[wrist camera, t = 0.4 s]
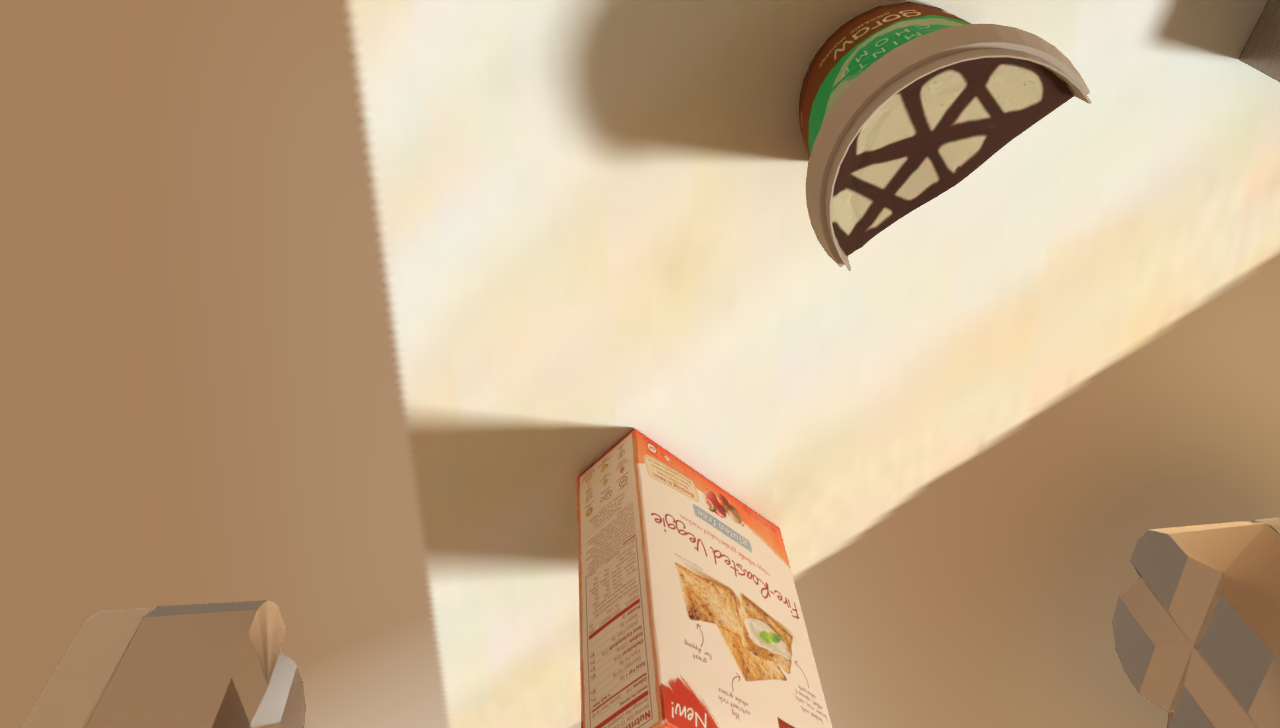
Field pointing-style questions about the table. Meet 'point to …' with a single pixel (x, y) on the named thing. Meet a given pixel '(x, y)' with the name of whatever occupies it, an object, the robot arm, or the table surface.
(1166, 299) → the table surface
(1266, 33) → the socket block
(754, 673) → the cracker box
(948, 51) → the food container
